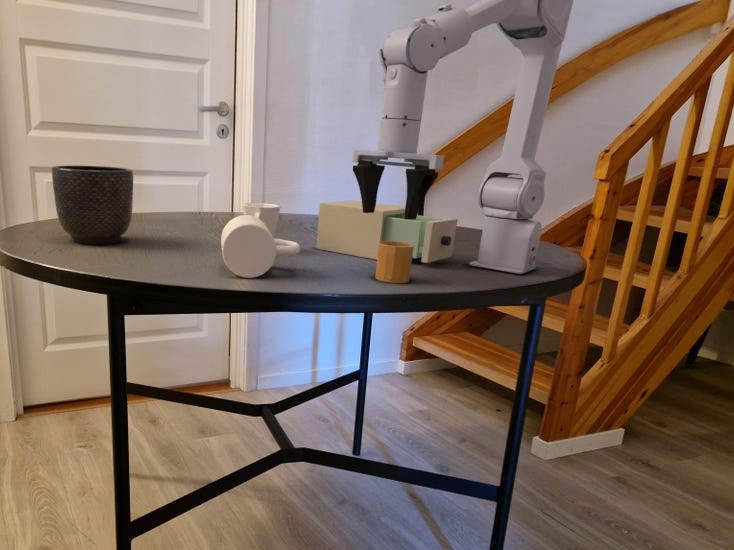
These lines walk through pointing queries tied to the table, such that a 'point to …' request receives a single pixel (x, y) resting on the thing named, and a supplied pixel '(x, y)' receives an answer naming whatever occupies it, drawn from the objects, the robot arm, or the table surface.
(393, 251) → the tumbler
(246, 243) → the mug
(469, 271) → the table surface
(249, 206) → the cup
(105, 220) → the planter
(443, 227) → the drawer
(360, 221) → the cabinet
